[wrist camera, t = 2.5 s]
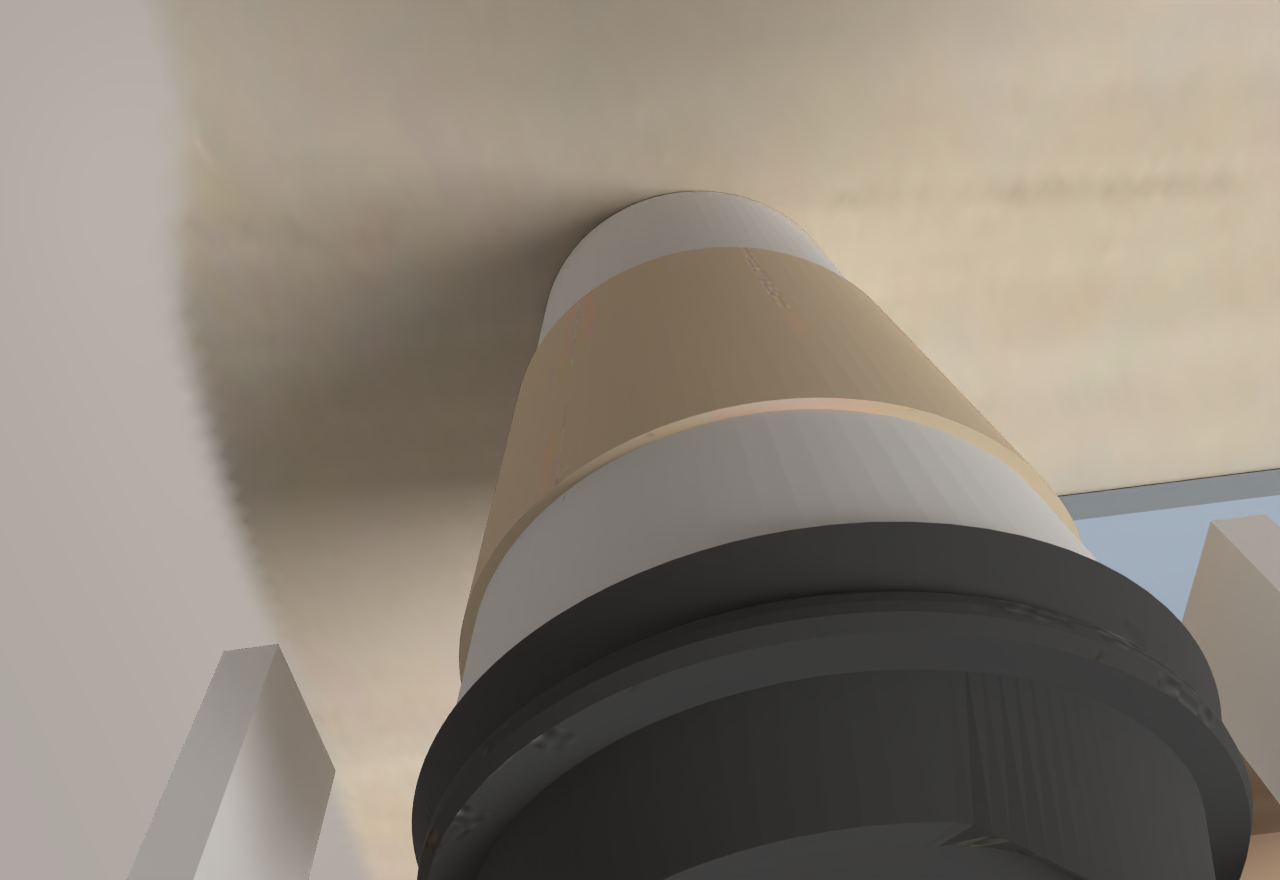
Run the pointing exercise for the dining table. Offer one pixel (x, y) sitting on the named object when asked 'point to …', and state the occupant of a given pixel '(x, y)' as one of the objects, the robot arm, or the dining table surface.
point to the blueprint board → (1167, 526)
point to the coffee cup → (797, 608)
